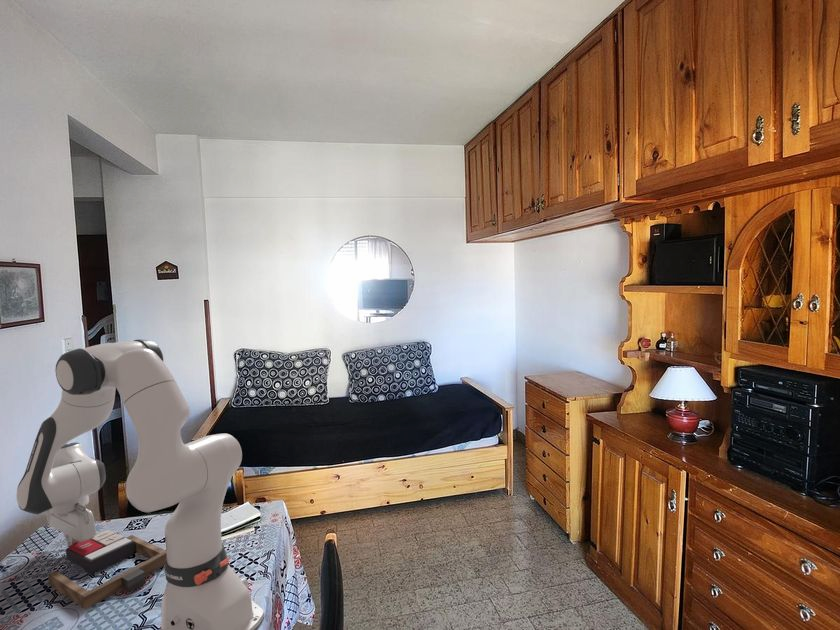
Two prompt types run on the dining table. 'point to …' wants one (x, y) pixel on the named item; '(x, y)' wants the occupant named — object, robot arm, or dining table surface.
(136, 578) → the cradle
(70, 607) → the dining table surface
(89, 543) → the red and white box
